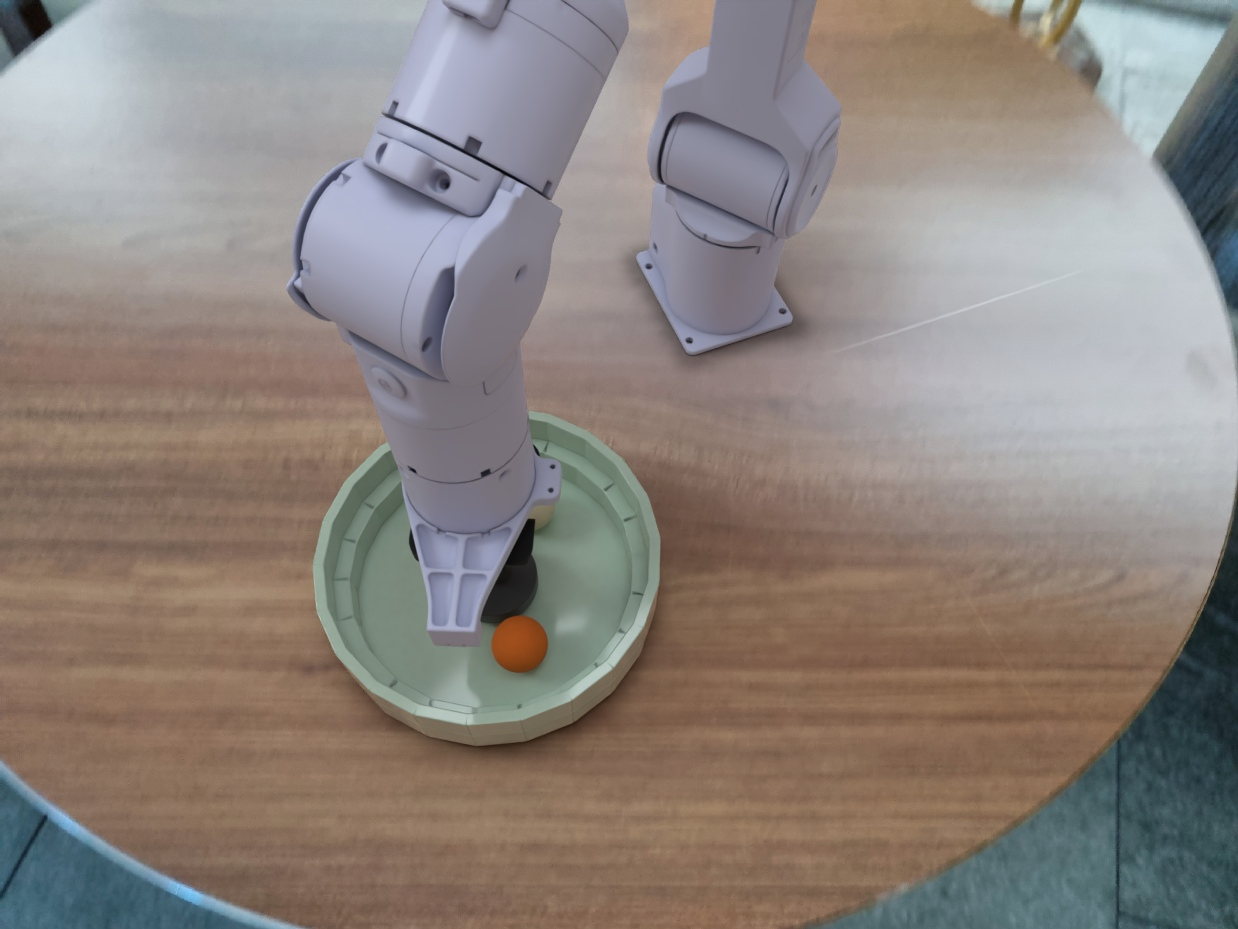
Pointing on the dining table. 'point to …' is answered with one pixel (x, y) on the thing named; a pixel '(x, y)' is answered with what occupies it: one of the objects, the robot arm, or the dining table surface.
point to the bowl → (470, 676)
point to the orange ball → (519, 644)
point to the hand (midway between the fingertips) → (491, 560)
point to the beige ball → (542, 515)
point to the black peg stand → (512, 594)
